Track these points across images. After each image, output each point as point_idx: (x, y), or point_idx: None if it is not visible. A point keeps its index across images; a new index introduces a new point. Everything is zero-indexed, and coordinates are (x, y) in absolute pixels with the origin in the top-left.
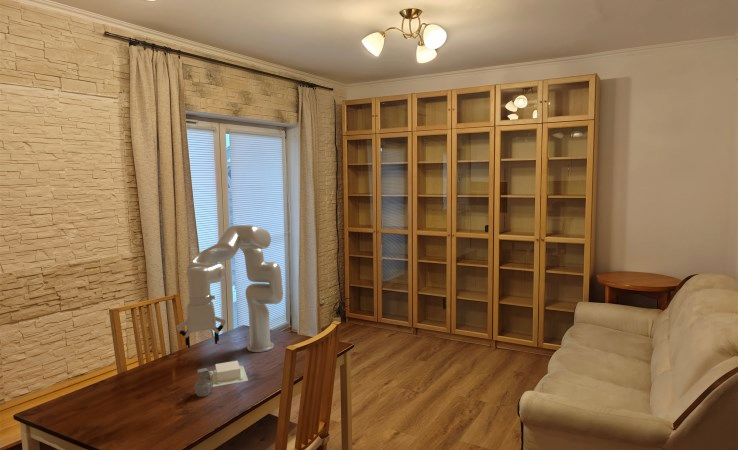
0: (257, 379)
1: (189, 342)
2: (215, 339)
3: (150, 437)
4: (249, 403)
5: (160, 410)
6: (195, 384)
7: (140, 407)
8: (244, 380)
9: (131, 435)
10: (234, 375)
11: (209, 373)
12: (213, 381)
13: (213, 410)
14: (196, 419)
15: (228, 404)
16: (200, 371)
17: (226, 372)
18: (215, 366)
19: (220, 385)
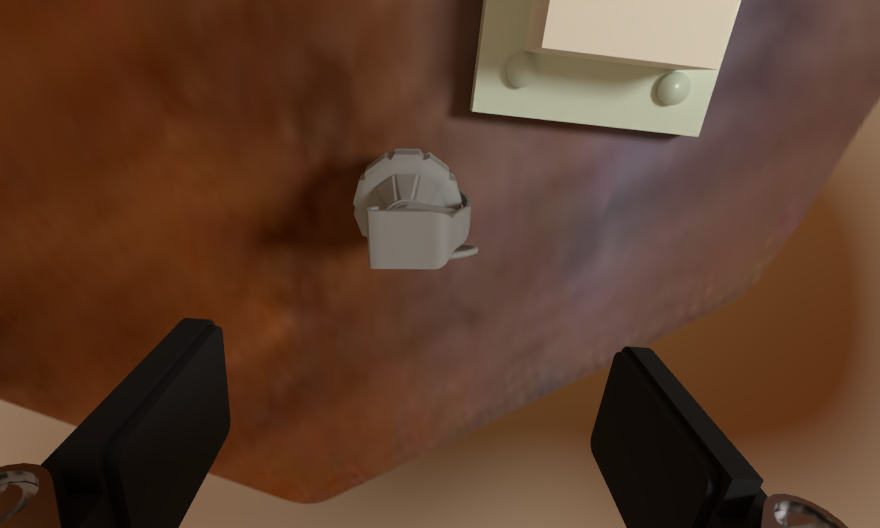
0: (760, 93)
1: (188, 499)
2: (622, 507)
3: None
4: (595, 349)
5: (179, 216)
6: (357, 211)
7: (52, 120)
8: (679, 124)
9: (85, 383)
10: (649, 64)
11: (458, 246)
12: (502, 21)
13: (433, 337)
14: (352, 378)
15: (509, 315)
16: (388, 260)
17: (608, 56)
18: None
19: (526, 117)
